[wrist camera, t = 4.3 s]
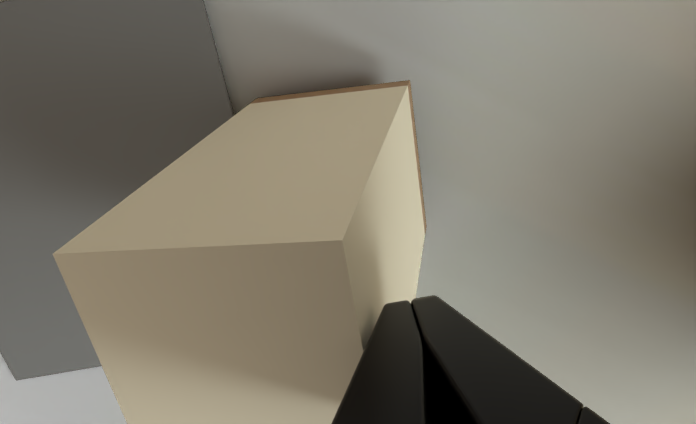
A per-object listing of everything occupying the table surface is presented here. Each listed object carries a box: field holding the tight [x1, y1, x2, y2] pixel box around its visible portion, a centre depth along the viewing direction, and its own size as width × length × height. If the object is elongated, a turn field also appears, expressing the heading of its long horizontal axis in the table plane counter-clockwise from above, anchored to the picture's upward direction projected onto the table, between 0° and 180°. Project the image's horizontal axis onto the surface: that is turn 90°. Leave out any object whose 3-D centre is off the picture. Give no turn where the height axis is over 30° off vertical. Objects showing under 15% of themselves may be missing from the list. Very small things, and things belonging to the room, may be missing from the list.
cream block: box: [53, 80, 426, 424], centre depth 13 cm, size 4×4×9 cm
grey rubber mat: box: [0, 0, 234, 380], centre depth 17 cm, size 10×12×1 cm
